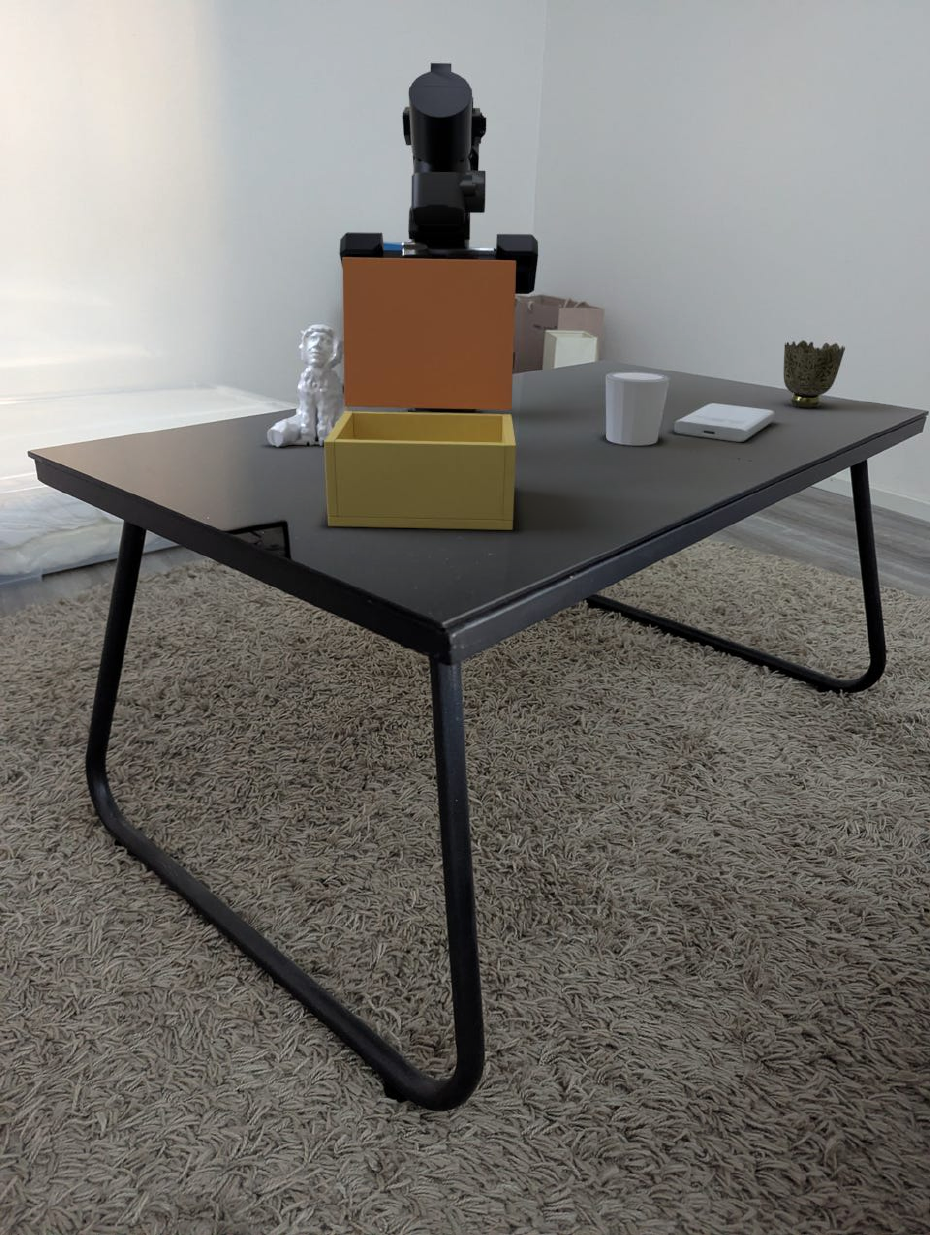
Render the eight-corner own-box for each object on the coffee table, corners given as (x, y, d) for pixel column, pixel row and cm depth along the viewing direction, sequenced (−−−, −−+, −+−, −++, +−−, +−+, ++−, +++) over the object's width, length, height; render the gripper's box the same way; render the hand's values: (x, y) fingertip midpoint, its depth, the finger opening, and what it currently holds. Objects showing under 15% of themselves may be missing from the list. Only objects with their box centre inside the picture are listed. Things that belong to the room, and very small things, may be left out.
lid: (516, 260, 75) (515, 261, 76) (342, 257, 75) (343, 258, 76) (511, 409, 78) (511, 409, 79) (344, 406, 78) (345, 406, 79)
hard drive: (773, 423, 109) (744, 443, 100) (707, 415, 113) (673, 433, 103) (775, 410, 109) (746, 428, 99) (708, 402, 112) (674, 418, 103)
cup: (839, 405, 121) (851, 343, 118) (827, 414, 115) (839, 349, 112) (783, 398, 124) (793, 338, 121) (768, 407, 119) (778, 344, 115)
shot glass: (662, 448, 96) (670, 382, 94) (598, 444, 98) (603, 379, 95) (663, 434, 103) (669, 372, 100) (602, 431, 104) (607, 369, 101)
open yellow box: (512, 530, 71) (516, 445, 68) (327, 526, 71) (323, 441, 68) (508, 489, 81) (511, 413, 79) (347, 485, 81) (344, 410, 79)
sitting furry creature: (265, 447, 94) (256, 327, 89) (290, 429, 102) (282, 318, 97) (354, 451, 93) (350, 331, 88) (371, 433, 101) (369, 321, 96)
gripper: (336, 136, 81) (326, 280, 77) (541, 138, 81) (544, 282, 77) (350, 224, 92) (342, 355, 87) (532, 226, 92) (534, 357, 87)
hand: (438, 337), depth 84 cm, fingers closed
